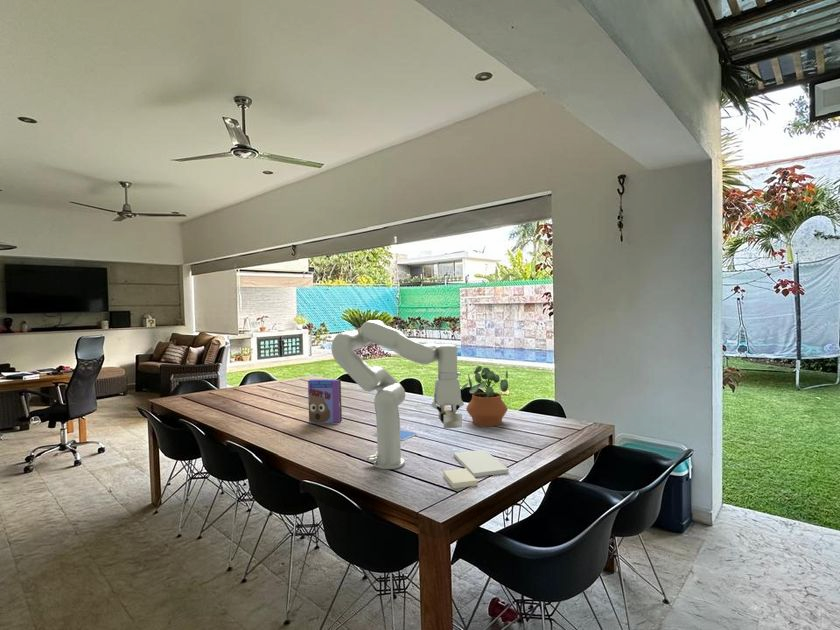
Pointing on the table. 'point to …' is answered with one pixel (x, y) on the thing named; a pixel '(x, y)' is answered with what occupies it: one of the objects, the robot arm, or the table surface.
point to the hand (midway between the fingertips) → (447, 422)
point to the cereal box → (324, 401)
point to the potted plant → (486, 399)
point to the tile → (460, 478)
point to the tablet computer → (404, 434)
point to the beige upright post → (451, 419)
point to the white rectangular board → (480, 463)
